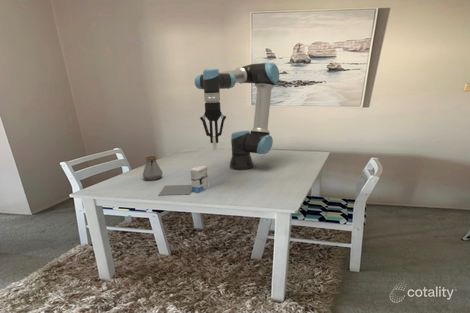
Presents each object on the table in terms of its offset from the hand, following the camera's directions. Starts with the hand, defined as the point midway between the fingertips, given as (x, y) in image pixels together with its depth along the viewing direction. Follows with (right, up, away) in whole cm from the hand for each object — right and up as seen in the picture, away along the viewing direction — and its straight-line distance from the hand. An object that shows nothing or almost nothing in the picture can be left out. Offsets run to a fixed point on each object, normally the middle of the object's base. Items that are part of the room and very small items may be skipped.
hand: (214, 149), depth 151 cm
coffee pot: (-37, -18, +22) cm, 47 cm away
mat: (-20, -21, +6) cm, 30 cm away
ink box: (-8, -21, +5) cm, 23 cm away
